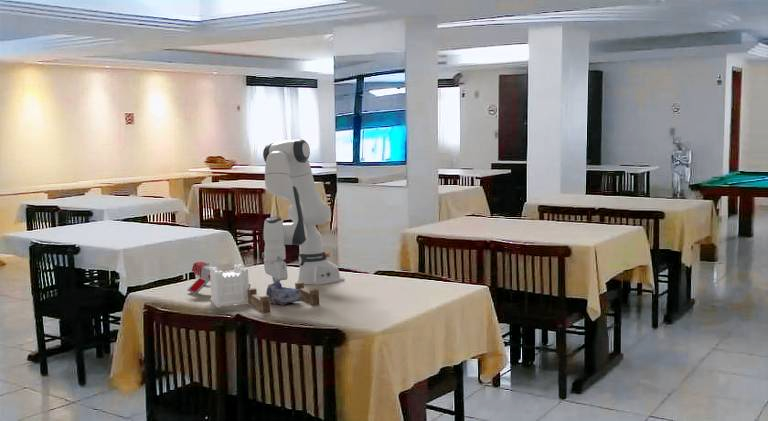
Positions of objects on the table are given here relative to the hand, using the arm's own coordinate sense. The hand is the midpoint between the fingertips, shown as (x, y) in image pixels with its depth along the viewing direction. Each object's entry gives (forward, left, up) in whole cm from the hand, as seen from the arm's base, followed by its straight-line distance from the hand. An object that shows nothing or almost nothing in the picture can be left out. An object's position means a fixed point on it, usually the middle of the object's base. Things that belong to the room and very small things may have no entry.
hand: (276, 287), depth 336 cm
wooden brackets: (0, +8, -6) cm, 10 cm away
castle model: (+18, -10, -6) cm, 21 cm away
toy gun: (+18, -29, -6) cm, 35 cm away
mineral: (-1, +7, -6) cm, 9 cm away
